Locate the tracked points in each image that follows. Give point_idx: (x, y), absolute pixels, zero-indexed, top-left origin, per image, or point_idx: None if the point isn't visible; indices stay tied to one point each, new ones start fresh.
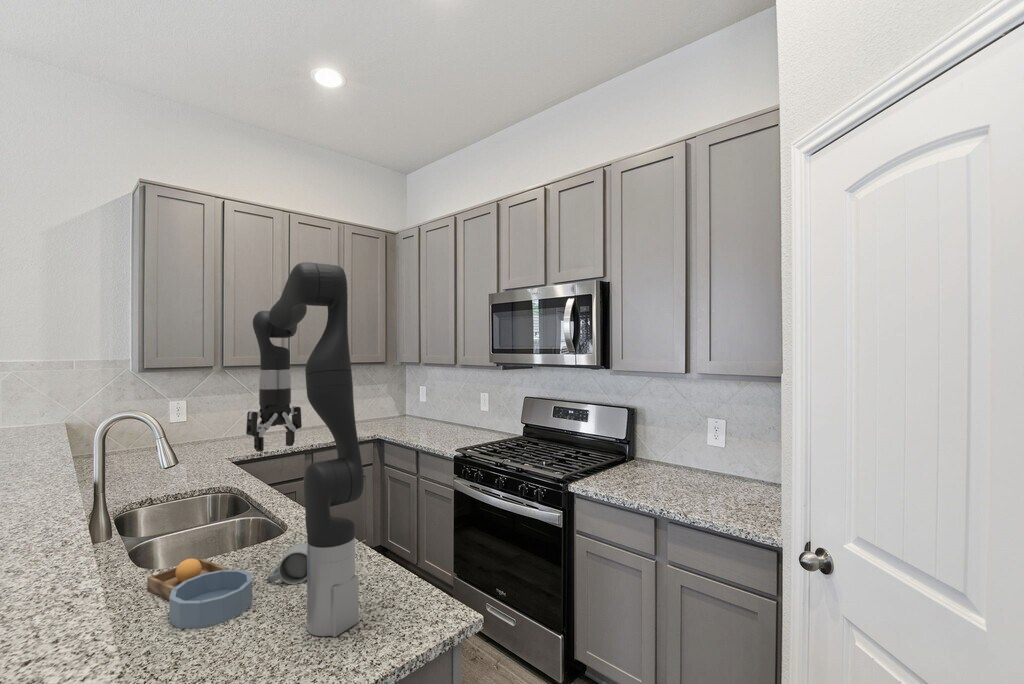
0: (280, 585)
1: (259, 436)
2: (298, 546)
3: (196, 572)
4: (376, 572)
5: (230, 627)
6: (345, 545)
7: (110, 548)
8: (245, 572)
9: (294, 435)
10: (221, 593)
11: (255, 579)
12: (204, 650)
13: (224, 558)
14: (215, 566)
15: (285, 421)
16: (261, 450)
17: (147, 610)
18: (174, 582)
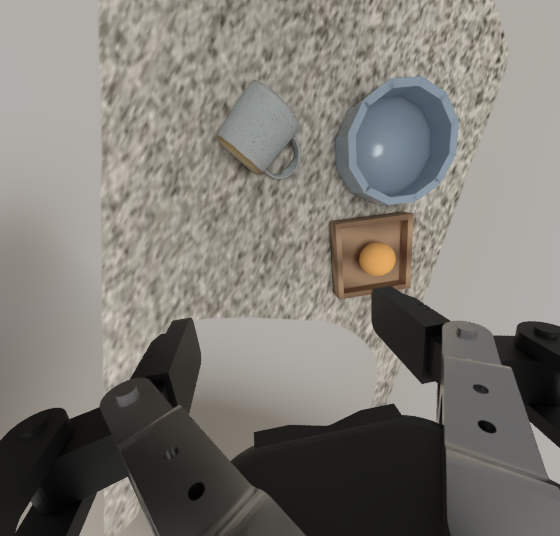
0: None
1: (468, 323)
2: (256, 130)
3: (374, 243)
4: (142, 4)
5: (401, 63)
6: None
7: None
8: (351, 147)
9: (136, 368)
10: (365, 171)
11: (303, 192)
12: (448, 31)
13: (293, 309)
14: (341, 251)
15: (224, 463)
16: (388, 286)
17: (425, 221)
18: None
